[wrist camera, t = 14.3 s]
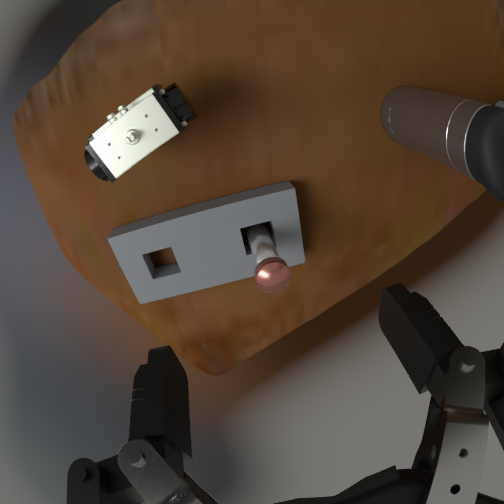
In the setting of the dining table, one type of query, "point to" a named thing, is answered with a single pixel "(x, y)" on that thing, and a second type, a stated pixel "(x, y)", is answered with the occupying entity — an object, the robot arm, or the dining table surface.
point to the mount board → (207, 242)
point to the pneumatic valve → (137, 130)
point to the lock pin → (267, 260)
